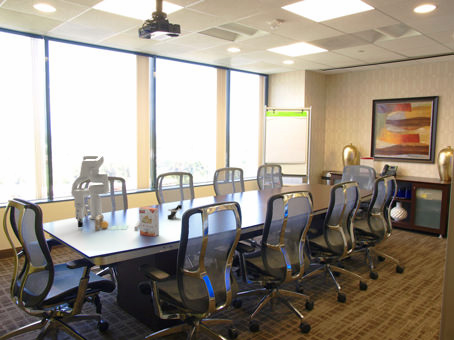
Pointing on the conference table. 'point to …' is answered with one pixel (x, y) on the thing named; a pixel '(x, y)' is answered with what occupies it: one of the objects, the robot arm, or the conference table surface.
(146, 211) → the cracker box
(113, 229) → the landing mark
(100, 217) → the bridge
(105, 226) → the ball
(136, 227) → the stopper
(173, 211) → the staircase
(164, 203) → the conference table surface
